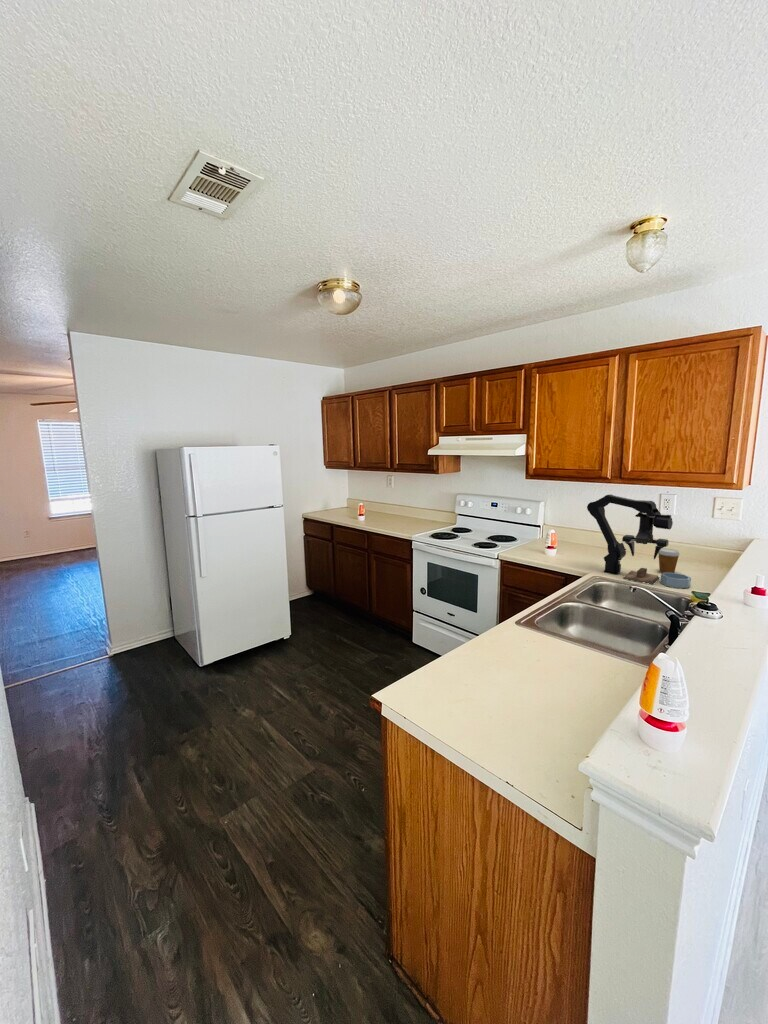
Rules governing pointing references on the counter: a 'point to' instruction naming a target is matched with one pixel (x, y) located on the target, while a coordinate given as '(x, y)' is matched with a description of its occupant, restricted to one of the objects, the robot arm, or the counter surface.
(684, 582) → the bowl
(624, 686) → the counter surface
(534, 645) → the counter surface
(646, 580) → the cover
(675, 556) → the disposable coffee cup
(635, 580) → the mat
